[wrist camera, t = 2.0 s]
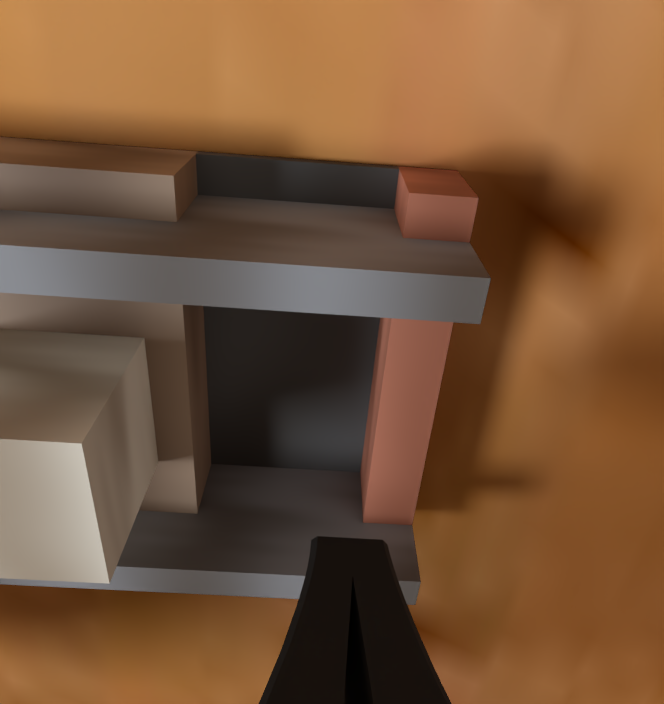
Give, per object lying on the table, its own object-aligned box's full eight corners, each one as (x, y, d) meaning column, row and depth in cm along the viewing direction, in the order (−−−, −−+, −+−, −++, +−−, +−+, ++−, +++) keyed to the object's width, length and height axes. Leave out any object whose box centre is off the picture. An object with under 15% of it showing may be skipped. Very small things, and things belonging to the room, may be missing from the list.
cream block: (14, 453, 16) (-75, 574, 12) (-22, 327, 14) (-140, 430, 10) (158, 461, 16) (109, 583, 13) (144, 337, 14) (82, 443, 10)
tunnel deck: (-115, 482, 20) (-224, 595, 16) (-279, 115, 14) (-521, 155, 10) (396, 510, 20) (410, 626, 17) (457, 170, 14) (502, 228, 10)
